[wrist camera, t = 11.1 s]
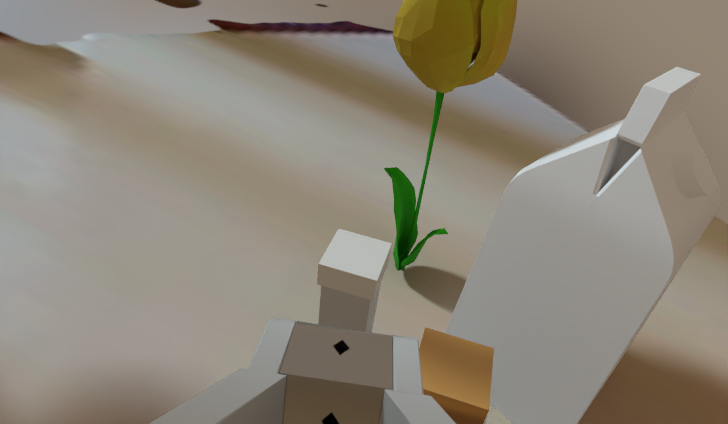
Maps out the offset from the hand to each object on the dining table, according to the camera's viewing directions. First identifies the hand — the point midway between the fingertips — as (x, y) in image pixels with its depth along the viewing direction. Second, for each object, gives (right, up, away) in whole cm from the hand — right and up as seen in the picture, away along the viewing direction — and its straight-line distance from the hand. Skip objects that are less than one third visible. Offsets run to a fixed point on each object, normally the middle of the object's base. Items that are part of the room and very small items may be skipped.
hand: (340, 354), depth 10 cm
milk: (+15, -11, +32) cm, 37 cm away
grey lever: (-1, -11, +26) cm, 28 cm away
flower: (+4, -3, +40) cm, 40 cm away
